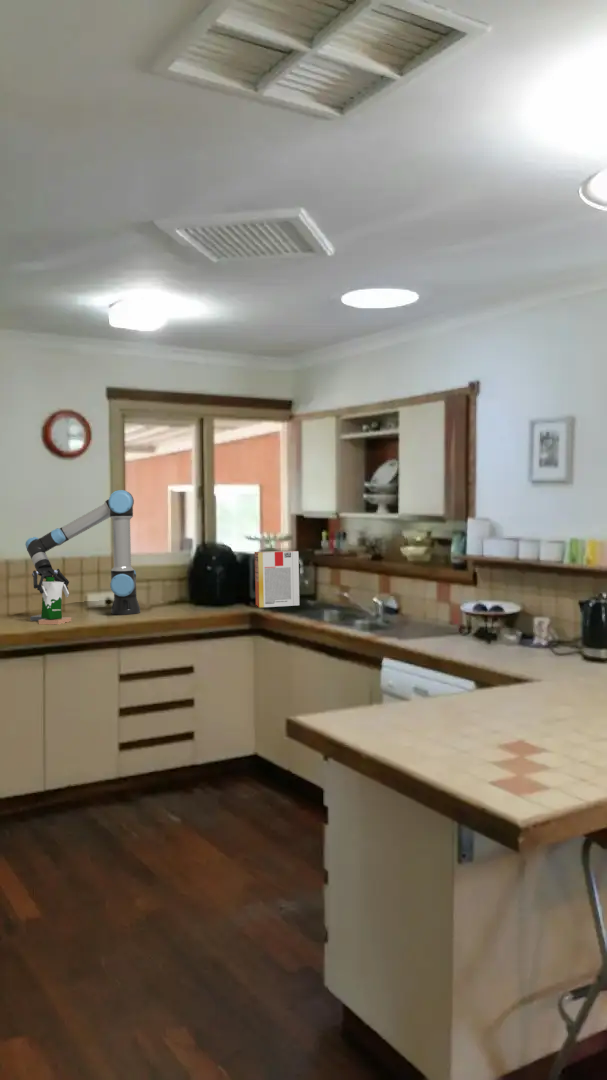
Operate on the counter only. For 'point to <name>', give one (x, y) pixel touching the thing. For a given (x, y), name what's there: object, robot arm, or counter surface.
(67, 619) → the terracotta tile
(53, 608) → the soya milk
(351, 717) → the counter surface
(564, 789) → the counter surface
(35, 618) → the slate tile
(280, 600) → the pasta box
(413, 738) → the counter surface
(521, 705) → the counter surface
